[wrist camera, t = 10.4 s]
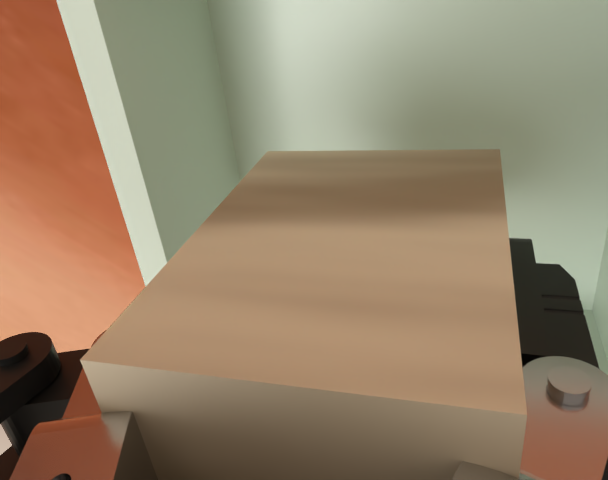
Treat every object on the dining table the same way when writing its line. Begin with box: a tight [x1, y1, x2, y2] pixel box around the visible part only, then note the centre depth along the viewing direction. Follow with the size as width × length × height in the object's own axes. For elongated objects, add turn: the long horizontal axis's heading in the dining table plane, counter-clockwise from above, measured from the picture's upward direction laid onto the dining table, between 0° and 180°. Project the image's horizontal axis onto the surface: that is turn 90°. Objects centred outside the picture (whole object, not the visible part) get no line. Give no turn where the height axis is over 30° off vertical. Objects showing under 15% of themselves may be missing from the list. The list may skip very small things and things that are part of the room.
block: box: [80, 149, 527, 480], centre depth 10 cm, size 5×5×7 cm
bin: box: [56, 0, 608, 375], centre depth 16 cm, size 15×15×7 cm
